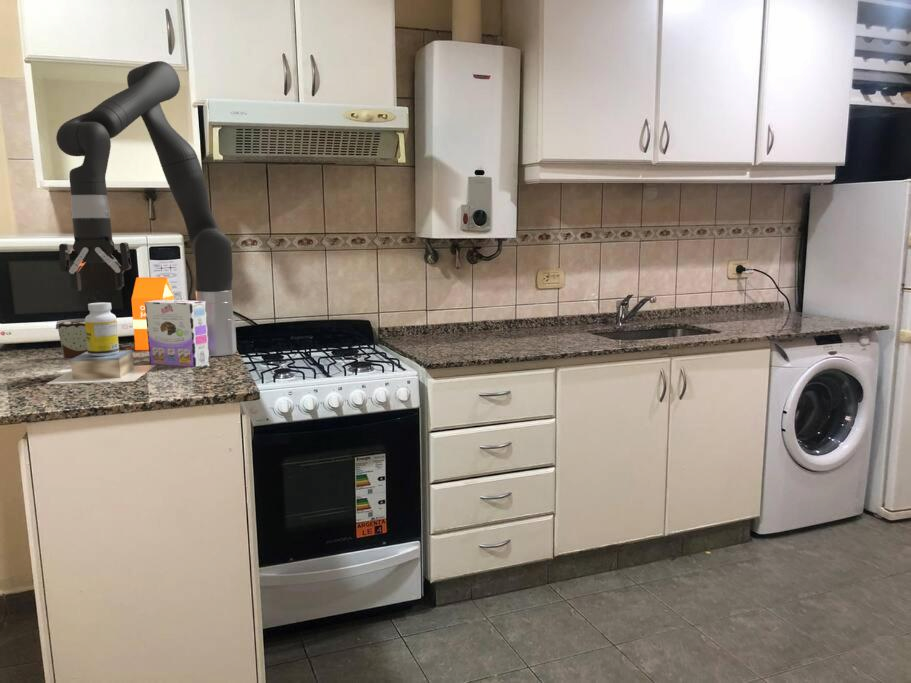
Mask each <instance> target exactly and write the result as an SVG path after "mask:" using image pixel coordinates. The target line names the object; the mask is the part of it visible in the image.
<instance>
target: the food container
mask: <svg viewBox="0 0 911 683" xmlns="http://www.w3.org/2000/svg"><path fill="white" fill-rule="evenodd" d="M55 329H56V330H58V336H59V339H60V345H61V351H62V355H63V356H62V357H63V359H64V360H71V359H72V358H74V357H76V356H79V355H81V354H83V353H85V352H87V339H86V328H85V318H73V319H63V320H57V321H56V324H55Z"/></svg>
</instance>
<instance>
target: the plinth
mask: <svg viewBox="0 0 911 683" xmlns="http://www.w3.org/2000/svg"><path fill="white" fill-rule="evenodd" d="M133 353H134V352H133V350H132V349H125V350H123V349H122V350H121V349H119V352H118V353H117V354H114V355H109V356H90V355H89V354H88V351H87V352H85V353H83V354H81V355H79V356H76V357H74V358H72V359H70V364H71V370H72V377H73V379H98V378H121V377H123V376H124V375H126V374H127V373H128V372H130V371H131V370H133V369H134V366H135V365H134V354H133Z"/></svg>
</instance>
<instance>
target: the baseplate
mask: <svg viewBox="0 0 911 683" xmlns="http://www.w3.org/2000/svg"><path fill="white" fill-rule="evenodd" d="M155 366H157V364H143V365H134V369H133V370H131V371H130V372H128V373H127V374H126V375H124V376H123V377H121V378H98V379H73V377H72V369H71V370H69V371H67V372H66V373H64V374H61V375H60V376H57V377H56V378H54V379H53V380H50V381H48V382H46V383H45V385H56V384H57V385H59V384H65V385H66V384H94V383H95V384H97V383H118V382H119V383H124V382H125V383H126V382H128V383H129V382H136V381H137V380H138V379H140V378H141V377H142V376H144V375H145V374H146V373H148V372H150V371H151V370H152V369H153V368H154V367H155Z"/></svg>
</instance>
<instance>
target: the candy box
mask: <svg viewBox="0 0 911 683" xmlns="http://www.w3.org/2000/svg"><path fill="white" fill-rule="evenodd" d="M145 310H146V322H147V334H148V346H149V350H148V357H149V364H150V365H162V366H163V365H164V366H165V365H166V366H177V367H191V368H193V367H194V368H195V367H196V368H197V367H199V368H198V370H201V369H204V368H208V367H210V356H209V349H208V333H207V317H206V301H196V300H188V299H186V300H185V299H184V300H182V299H174V300H155V301H148V302H145Z"/></svg>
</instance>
